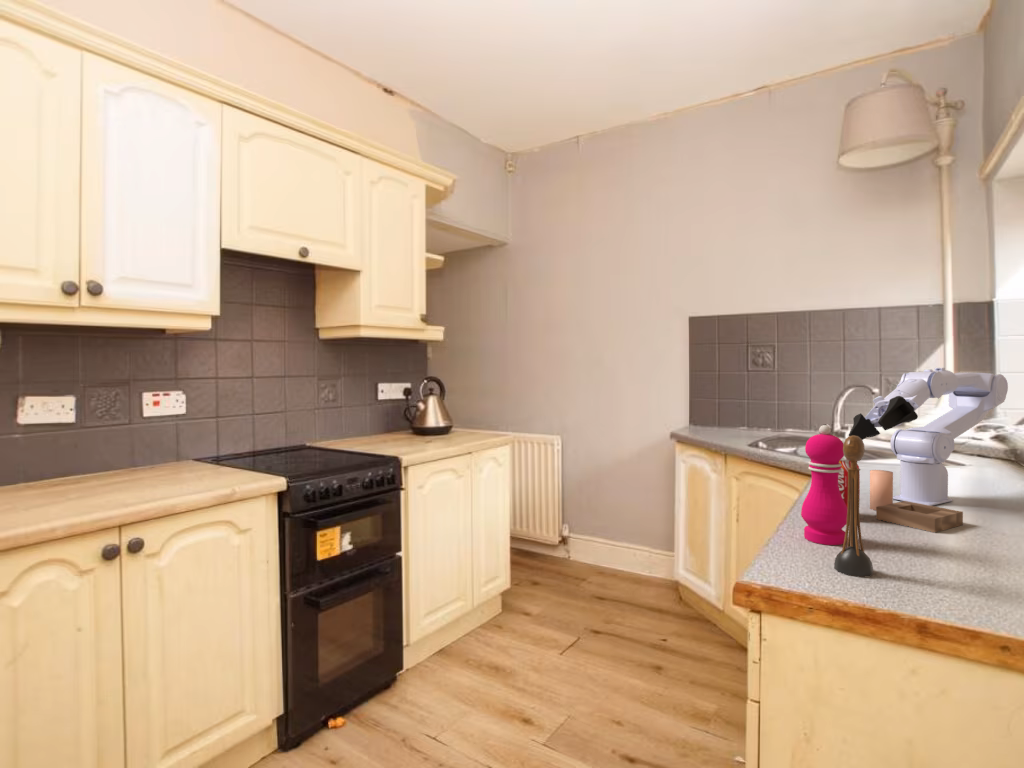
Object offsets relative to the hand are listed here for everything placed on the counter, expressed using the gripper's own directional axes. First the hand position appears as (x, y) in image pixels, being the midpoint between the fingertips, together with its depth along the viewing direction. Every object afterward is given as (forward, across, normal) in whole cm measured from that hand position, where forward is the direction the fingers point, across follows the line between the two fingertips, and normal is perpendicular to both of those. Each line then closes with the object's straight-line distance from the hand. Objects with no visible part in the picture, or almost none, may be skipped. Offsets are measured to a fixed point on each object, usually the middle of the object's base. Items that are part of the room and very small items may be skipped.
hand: (867, 432), depth 112 cm
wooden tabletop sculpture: (+39, +15, +9) cm, 43 cm away
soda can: (+14, -7, +10) cm, 19 cm away
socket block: (+6, 0, +18) cm, 19 cm away
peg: (+2, -8, +15) cm, 17 cm away
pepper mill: (+30, +4, +8) cm, 31 cm away
